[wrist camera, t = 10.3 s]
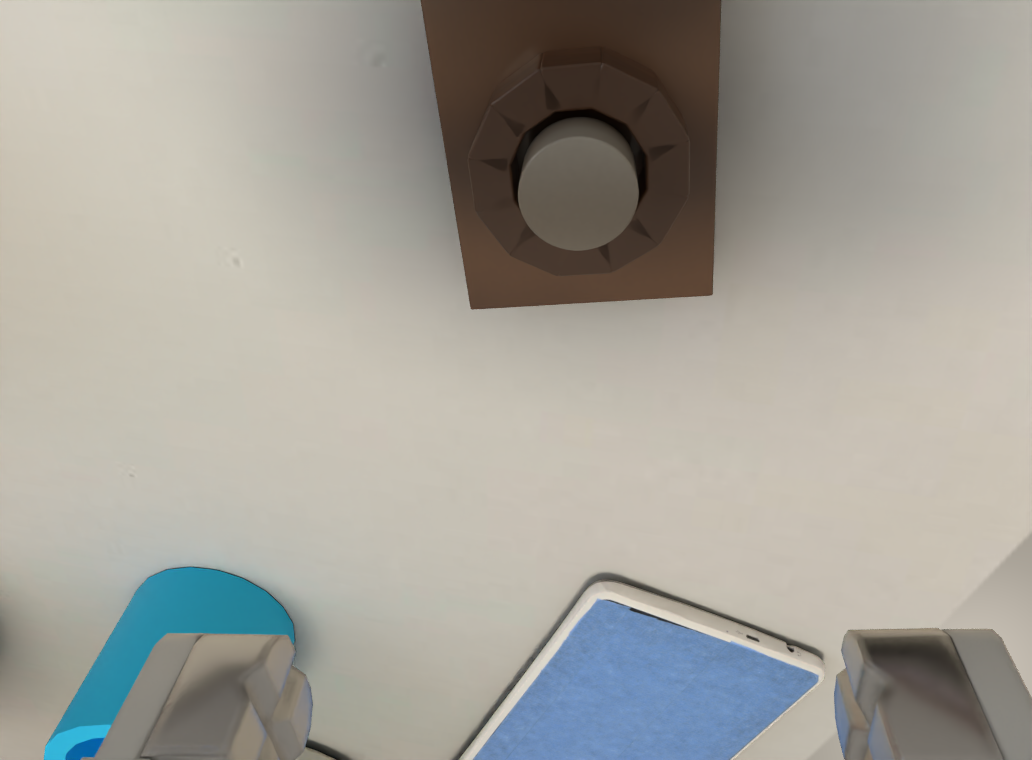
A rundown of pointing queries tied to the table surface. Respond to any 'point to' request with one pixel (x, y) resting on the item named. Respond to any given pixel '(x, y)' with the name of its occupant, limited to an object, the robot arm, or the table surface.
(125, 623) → the mug
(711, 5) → the control block
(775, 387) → the table surface
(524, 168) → the button
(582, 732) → the tablet
